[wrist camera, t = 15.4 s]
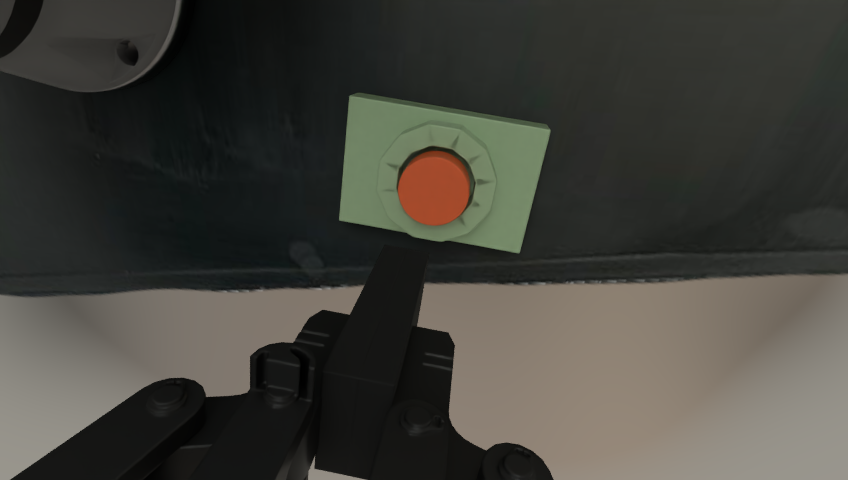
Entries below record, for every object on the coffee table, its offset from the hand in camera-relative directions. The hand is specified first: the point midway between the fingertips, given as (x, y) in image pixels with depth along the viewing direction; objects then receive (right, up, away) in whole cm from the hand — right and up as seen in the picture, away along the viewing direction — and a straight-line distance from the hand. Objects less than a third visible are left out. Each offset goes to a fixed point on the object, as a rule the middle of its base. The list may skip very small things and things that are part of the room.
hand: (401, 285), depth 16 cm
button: (+1, +5, +12) cm, 13 cm away
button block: (+2, +6, +15) cm, 16 cm away
